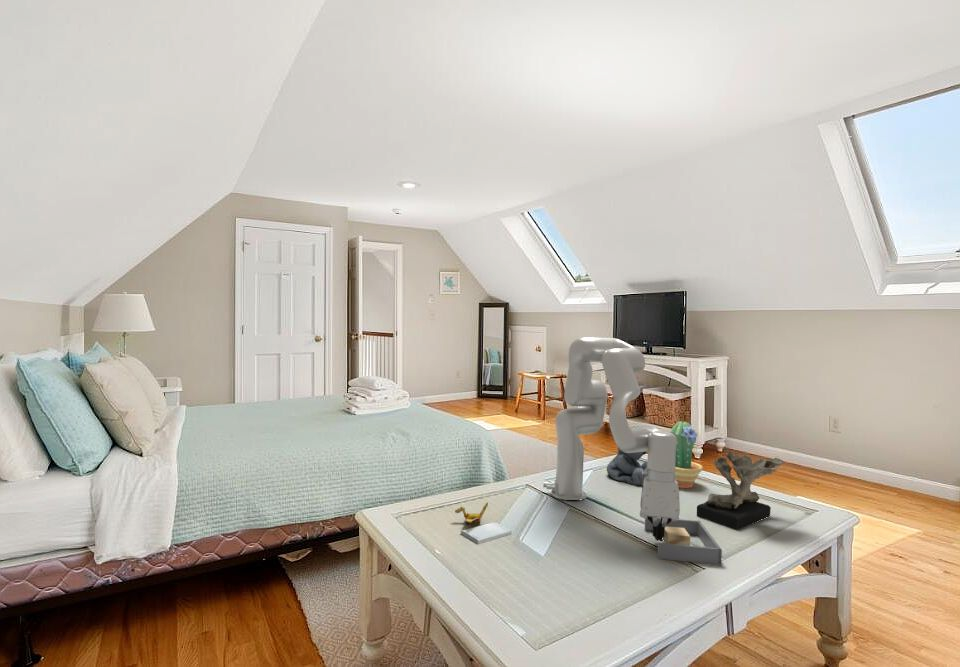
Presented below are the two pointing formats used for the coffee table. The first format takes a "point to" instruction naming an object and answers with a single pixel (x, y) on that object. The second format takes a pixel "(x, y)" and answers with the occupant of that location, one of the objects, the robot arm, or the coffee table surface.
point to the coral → (738, 493)
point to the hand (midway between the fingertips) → (658, 539)
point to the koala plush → (627, 467)
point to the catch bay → (687, 552)
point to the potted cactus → (685, 455)
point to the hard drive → (486, 532)
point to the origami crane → (470, 516)
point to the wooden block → (676, 536)
